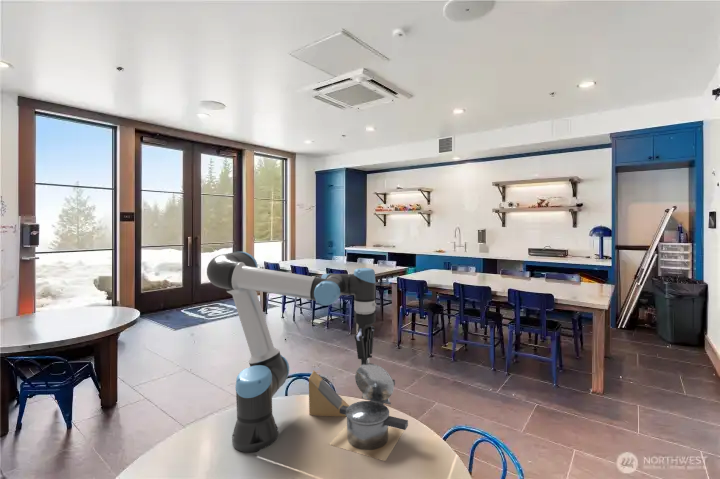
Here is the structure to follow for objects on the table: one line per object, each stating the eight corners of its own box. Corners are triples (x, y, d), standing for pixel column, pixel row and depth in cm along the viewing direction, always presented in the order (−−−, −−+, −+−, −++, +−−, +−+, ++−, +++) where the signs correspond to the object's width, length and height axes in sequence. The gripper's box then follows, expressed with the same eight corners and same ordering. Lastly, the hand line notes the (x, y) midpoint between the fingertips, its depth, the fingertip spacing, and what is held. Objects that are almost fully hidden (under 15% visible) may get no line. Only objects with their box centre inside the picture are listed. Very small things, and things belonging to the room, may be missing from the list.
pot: (331, 441, 123) (330, 415, 123) (352, 418, 137) (351, 395, 137) (399, 461, 113) (398, 433, 112) (414, 434, 127) (414, 408, 127)
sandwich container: (349, 418, 139) (348, 380, 138) (309, 417, 140) (308, 378, 139) (351, 407, 147) (351, 370, 146) (313, 405, 149) (313, 369, 148)
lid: (353, 361, 131) (356, 357, 133) (357, 397, 135) (360, 393, 137) (391, 368, 125) (393, 364, 127) (394, 406, 129) (397, 401, 131)
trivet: (328, 446, 122) (328, 444, 122) (353, 419, 138) (353, 417, 138) (385, 463, 113) (385, 461, 113) (404, 432, 129) (404, 430, 129)
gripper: (367, 317, 124) (367, 385, 126) (381, 308, 136) (381, 370, 137) (347, 314, 127) (348, 381, 129) (362, 306, 139) (363, 367, 141)
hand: (365, 375), depth 133 cm, fingers closed
